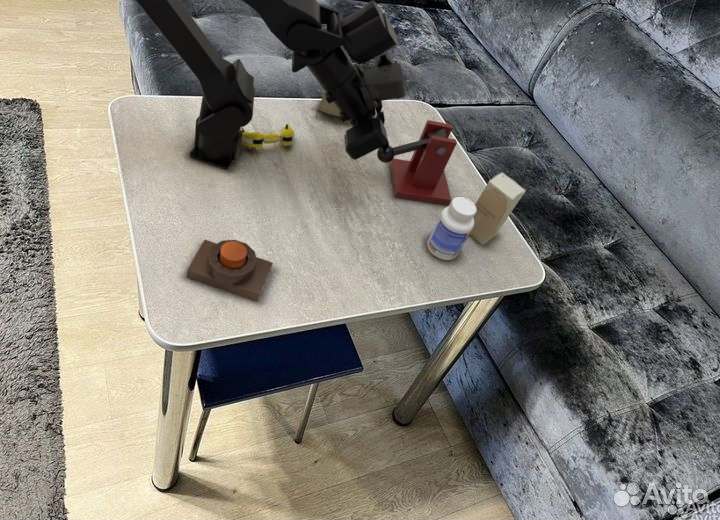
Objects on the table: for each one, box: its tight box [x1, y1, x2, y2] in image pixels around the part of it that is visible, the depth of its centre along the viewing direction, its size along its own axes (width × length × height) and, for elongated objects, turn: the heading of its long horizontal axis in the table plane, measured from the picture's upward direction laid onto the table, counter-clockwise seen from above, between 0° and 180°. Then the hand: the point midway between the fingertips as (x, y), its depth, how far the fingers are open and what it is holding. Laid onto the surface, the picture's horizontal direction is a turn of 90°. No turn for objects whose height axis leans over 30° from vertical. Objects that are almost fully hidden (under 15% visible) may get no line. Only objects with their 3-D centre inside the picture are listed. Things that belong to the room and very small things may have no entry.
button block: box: [186, 239, 274, 302], centre depth 80 cm, size 10×6×4 cm, turn 78°
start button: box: [220, 241, 247, 269], centre depth 78 cm, size 3×3×2 cm
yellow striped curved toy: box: [240, 124, 295, 151], centre depth 100 cm, size 10×6×4 cm, turn 117°
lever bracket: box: [388, 119, 458, 206], centre depth 101 cm, size 10×9×12 cm
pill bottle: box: [426, 196, 476, 261], centre depth 92 cm, size 5×5×10 cm
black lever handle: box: [376, 129, 447, 164], centre depth 99 cm, size 12×3×3 cm, turn 94°
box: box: [469, 171, 526, 246], centre depth 97 cm, size 5×4×11 cm
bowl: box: [316, 93, 340, 117], centre depth 110 cm, size 10×10×7 cm
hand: (386, 146), depth 98 cm, fingers closed, pressing on black lever handle
